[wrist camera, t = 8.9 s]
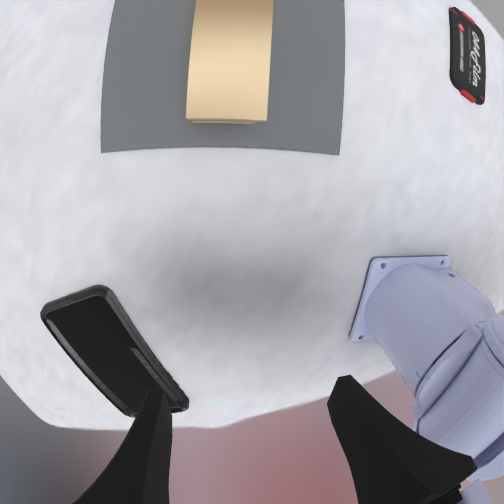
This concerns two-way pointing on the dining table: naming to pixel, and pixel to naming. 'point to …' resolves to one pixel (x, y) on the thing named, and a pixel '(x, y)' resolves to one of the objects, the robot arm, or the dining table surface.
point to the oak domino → (230, 61)
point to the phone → (109, 349)
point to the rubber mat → (177, 68)
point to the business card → (467, 56)
